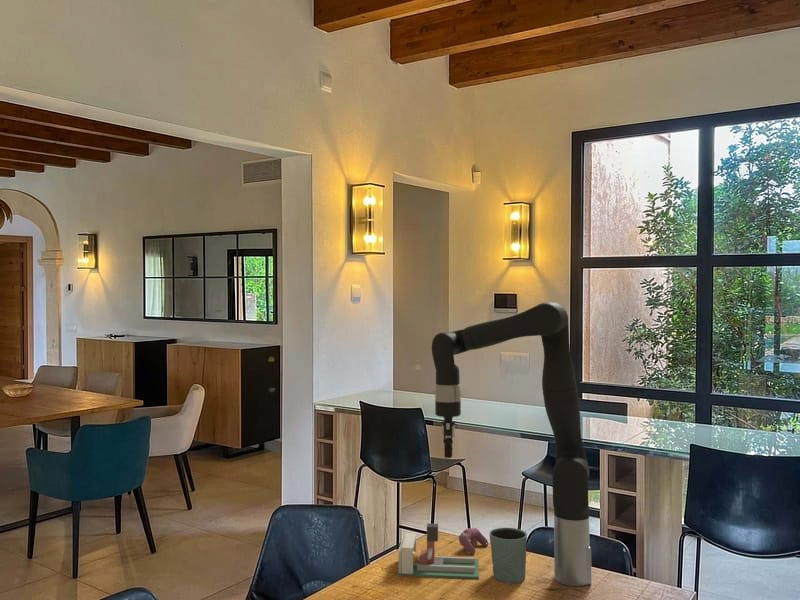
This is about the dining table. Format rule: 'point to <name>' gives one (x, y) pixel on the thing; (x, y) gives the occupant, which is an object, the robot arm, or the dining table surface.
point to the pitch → (447, 568)
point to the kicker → (431, 547)
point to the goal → (407, 553)
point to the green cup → (508, 555)
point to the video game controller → (472, 539)
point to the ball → (415, 557)
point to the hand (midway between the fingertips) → (448, 454)
